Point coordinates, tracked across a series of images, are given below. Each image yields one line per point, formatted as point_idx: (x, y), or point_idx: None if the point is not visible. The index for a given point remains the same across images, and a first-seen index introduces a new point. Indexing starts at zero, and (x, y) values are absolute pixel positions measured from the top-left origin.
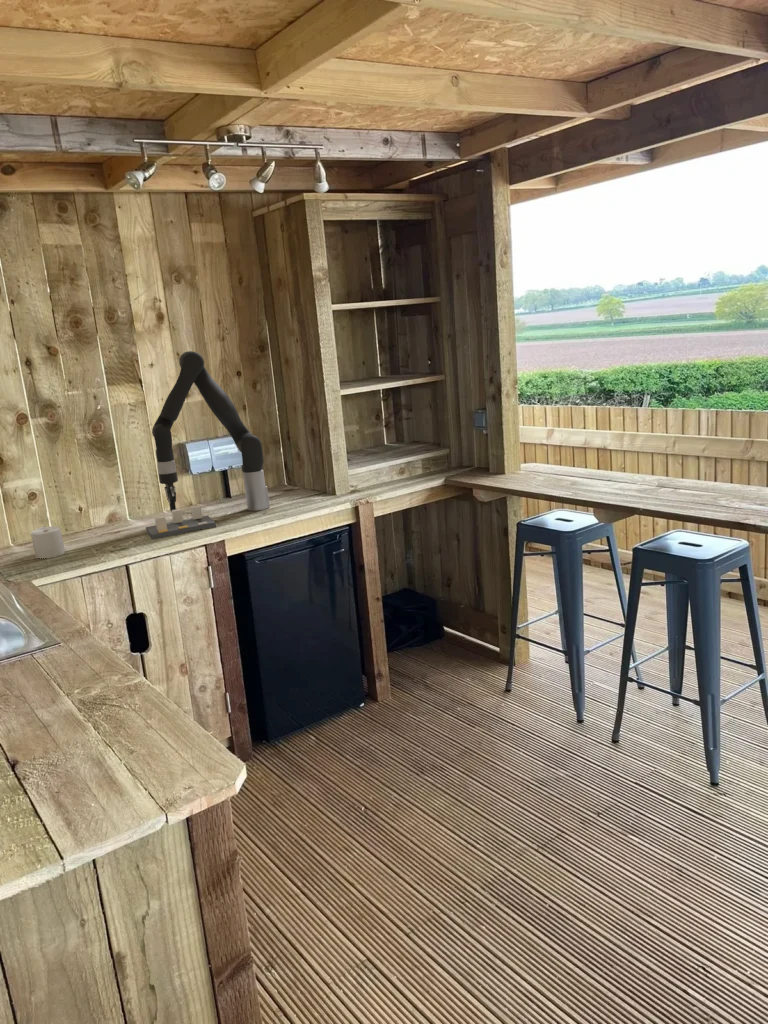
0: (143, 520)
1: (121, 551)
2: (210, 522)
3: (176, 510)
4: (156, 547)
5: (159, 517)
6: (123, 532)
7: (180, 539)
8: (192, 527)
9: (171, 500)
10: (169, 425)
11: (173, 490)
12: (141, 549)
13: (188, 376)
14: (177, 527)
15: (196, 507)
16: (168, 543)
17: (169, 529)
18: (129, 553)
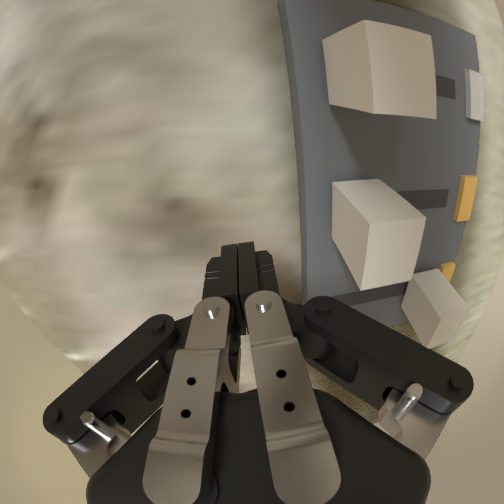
0: (95, 331)
1: (440, 349)
2: (470, 53)
3: (400, 255)
4: (492, 281)
5: (446, 332)
6: (245, 379)
7: (498, 214)
8: (475, 153)
9: (336, 348)
10: None
11: (397, 441)
12: (471, 313)
13: None
14: (439, 221)
15: (434, 75)
16: (495, 252)
17: (435, 256)
18: (468, 331)
